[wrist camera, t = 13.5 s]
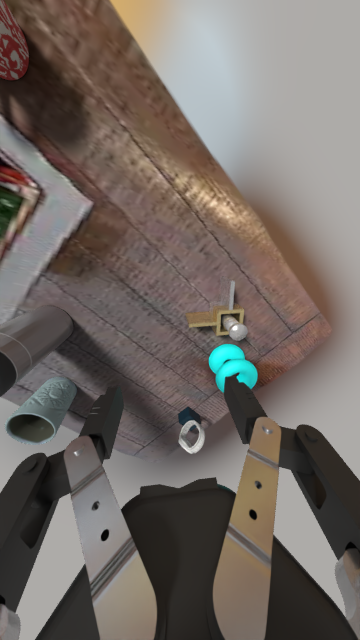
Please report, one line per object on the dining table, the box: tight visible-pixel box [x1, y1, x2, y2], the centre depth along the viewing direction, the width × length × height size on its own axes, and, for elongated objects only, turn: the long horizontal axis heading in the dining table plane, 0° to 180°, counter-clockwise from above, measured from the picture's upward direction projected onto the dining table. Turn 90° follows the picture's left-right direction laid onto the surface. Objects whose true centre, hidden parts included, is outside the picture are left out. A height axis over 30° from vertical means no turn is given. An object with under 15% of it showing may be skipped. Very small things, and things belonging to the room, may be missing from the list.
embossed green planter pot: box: [5, 377, 77, 445], centre depth 43 cm, size 10×10×12 cm
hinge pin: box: [221, 314, 248, 341], centre depth 38 cm, size 3×3×12 cm
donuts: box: [209, 344, 258, 393], centre depth 44 cm, size 10×10×10 cm
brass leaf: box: [186, 304, 244, 336], centre depth 40 cm, size 12×6×7 cm, turn 92°
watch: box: [178, 407, 205, 454], centre depth 51 cm, size 6×8×11 cm
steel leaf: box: [209, 276, 237, 328], centre depth 39 cm, size 6×12×7 cm, turn 2°
